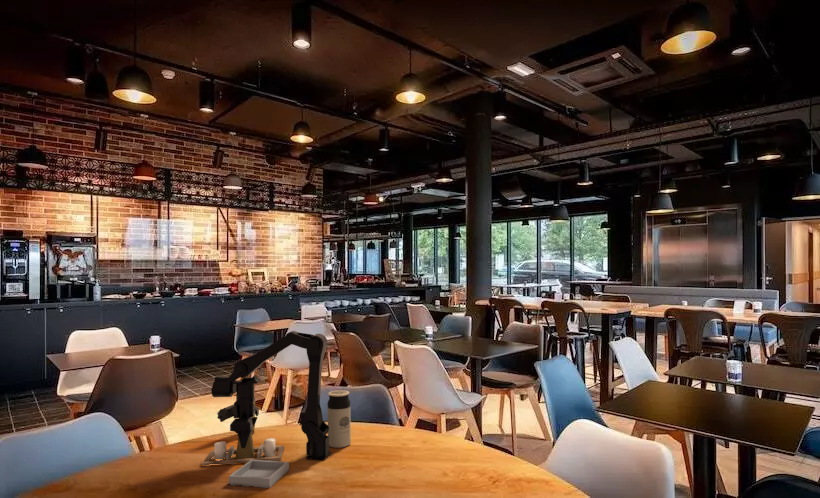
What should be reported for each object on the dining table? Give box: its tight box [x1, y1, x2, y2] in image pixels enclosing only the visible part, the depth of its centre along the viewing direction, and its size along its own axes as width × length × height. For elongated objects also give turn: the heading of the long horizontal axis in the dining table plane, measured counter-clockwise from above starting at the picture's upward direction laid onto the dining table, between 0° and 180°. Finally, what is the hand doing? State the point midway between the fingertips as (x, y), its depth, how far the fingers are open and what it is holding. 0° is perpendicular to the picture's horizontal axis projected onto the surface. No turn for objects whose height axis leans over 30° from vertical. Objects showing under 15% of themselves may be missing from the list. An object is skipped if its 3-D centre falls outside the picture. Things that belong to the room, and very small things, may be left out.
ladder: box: [201, 443, 285, 465], centre depth 162 cm, size 24×12×2 cm, turn 99°
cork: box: [235, 424, 256, 459], centre depth 162 cm, size 6×6×11 cm
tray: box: [228, 460, 290, 489], centre depth 145 cm, size 13×13×2 cm
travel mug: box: [327, 389, 352, 449], centre depth 173 cm, size 8×8×18 cm
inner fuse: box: [263, 437, 276, 457], centre depth 163 cm, size 4×4×5 cm
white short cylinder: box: [213, 441, 227, 459], centre depth 160 cm, size 4×4×5 cm
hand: (245, 444), depth 162 cm, fingers open, 6 cm apart
